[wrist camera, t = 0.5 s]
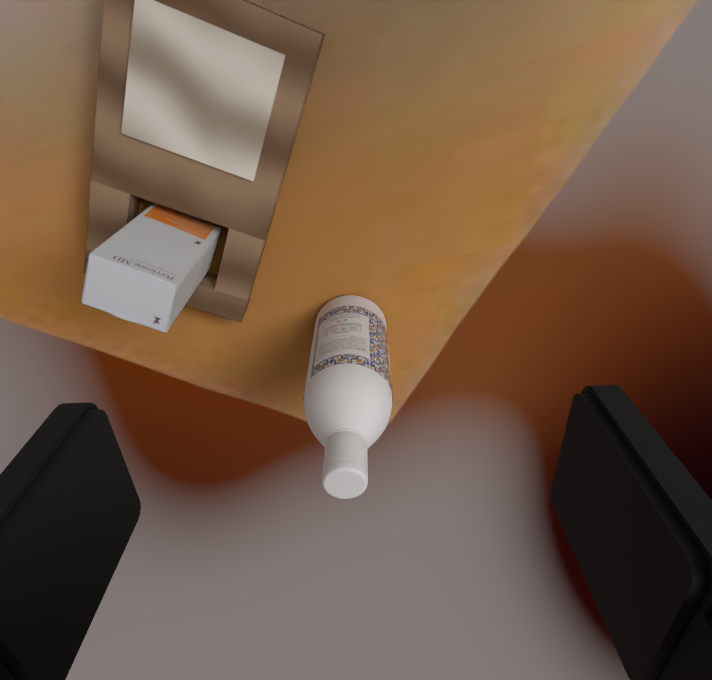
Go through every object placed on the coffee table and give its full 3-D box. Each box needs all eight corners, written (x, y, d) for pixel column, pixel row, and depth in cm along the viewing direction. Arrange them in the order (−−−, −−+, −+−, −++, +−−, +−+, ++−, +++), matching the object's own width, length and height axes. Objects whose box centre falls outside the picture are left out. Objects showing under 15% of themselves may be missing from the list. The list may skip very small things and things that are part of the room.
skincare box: (223, 225, 43) (180, 287, 32) (211, 266, 45) (167, 336, 35) (154, 197, 41) (86, 252, 31) (144, 241, 43) (78, 306, 33)
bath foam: (371, 361, 50) (376, 529, 33) (307, 341, 49) (278, 506, 32) (396, 305, 47) (416, 462, 30) (328, 283, 45) (308, 433, 29)
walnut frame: (124, -53, 32) (105, -59, 30) (324, 34, 35) (322, 35, 32) (97, 262, 45) (82, 275, 42) (246, 309, 47) (240, 324, 45)
